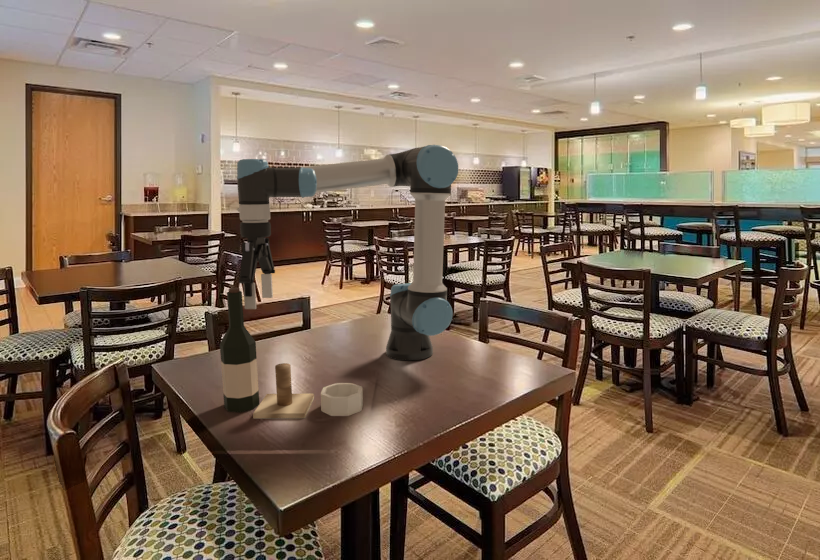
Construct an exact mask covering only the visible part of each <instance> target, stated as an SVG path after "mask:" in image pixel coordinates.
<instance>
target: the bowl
mask: <svg viewBox="0 0 820 560" xmlns="http://www.w3.org/2000/svg"><path fill="white" fill-rule="evenodd" d="M363 391H364V390H363V387H362V386H360V385H359V384H355V383H352V382H335V383H333V384H329V385H327V386H323V388H322V389H321V392H320V410H321V412H323V413H325V414H327V415H328V416H330V417H350V416H351V415H354V414H357V413H359V412H362V409H363V405H364V399H363V398H364V397H363Z"/></svg>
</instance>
